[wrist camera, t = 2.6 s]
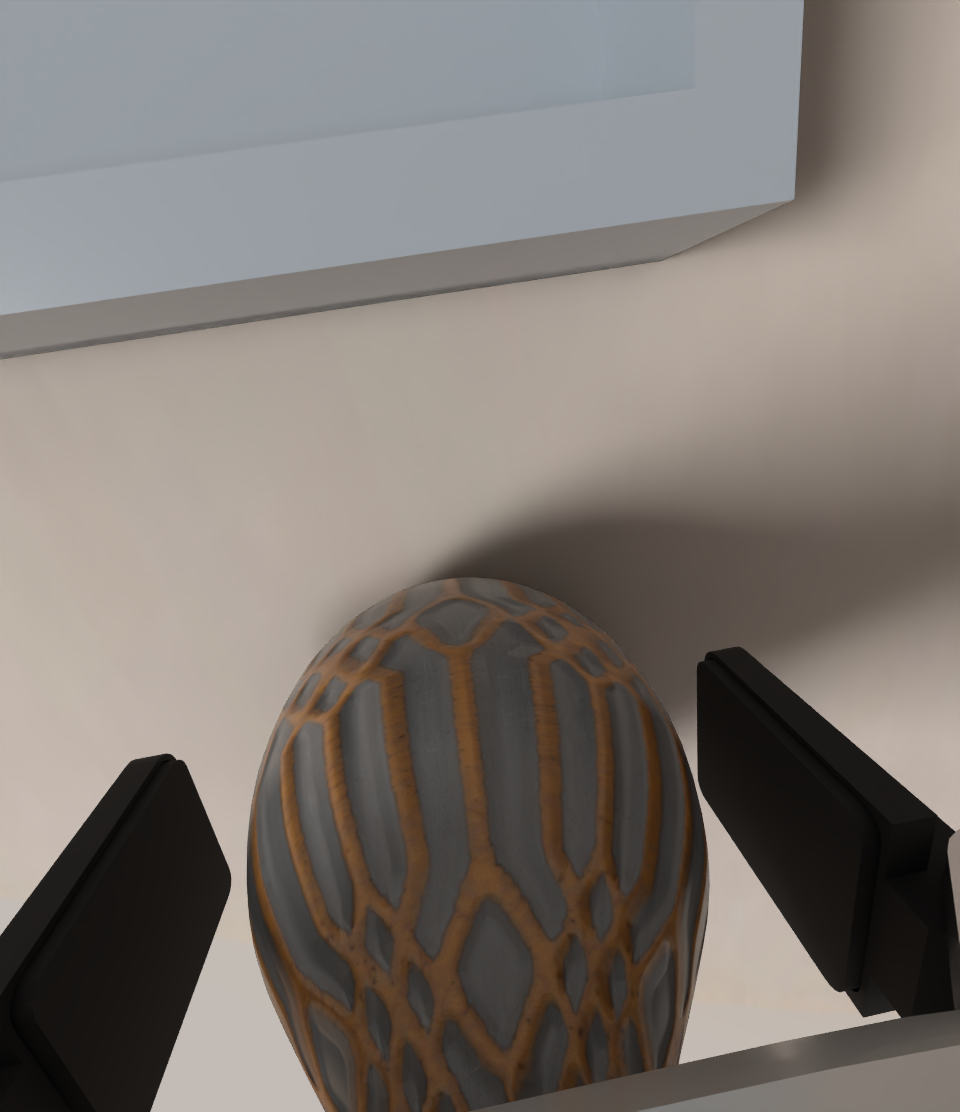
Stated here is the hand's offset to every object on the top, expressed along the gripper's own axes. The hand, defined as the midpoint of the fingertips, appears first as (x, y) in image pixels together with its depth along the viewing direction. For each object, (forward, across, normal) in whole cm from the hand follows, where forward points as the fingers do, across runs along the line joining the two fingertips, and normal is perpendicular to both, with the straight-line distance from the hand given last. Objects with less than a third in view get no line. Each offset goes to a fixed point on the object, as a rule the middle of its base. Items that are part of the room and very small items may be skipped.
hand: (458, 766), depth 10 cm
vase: (+3, 0, 0) cm, 3 cm away
